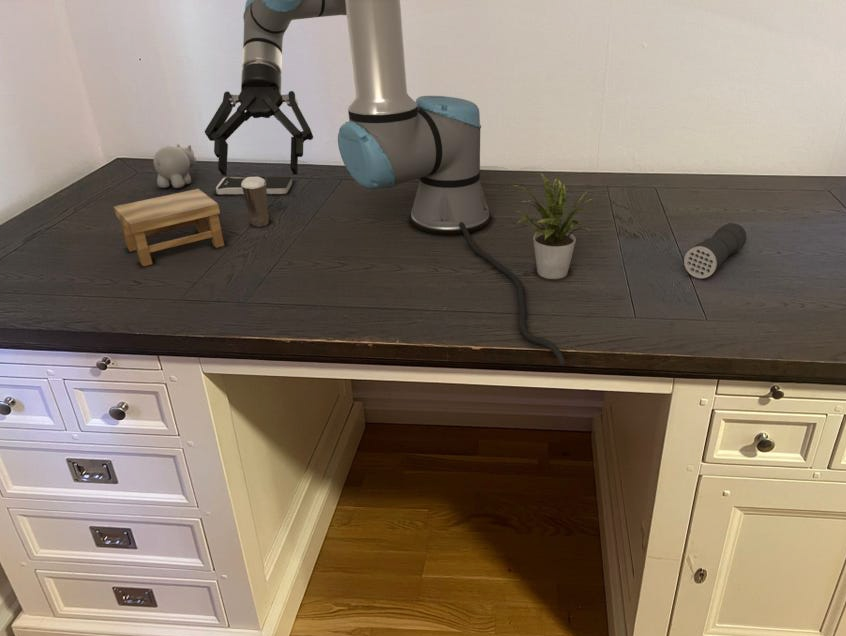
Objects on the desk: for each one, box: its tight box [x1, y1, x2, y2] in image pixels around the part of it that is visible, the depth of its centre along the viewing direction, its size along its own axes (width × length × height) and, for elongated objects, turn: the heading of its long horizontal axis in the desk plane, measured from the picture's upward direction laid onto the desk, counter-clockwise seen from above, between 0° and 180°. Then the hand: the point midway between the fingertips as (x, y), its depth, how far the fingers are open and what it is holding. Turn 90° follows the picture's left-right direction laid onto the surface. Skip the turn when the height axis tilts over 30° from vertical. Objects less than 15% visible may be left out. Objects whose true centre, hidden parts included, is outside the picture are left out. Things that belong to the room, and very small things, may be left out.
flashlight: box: [683, 222, 747, 279], centre depth 124 cm, size 15×5×5 cm, turn 142°
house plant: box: [512, 172, 595, 280], centre depth 118 cm, size 14×14×16 cm
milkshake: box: [241, 173, 270, 228], centre depth 137 cm, size 4×5×10 cm
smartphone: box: [215, 176, 293, 195], centre depth 156 cm, size 8×1×15 cm
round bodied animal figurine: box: [153, 143, 197, 189], centre depth 158 cm, size 7×12×8 cm, turn 165°
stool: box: [113, 188, 225, 267], centre depth 128 cm, size 10×15×8 cm, turn 128°
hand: (258, 171), depth 137 cm, fingers open, 13 cm apart
